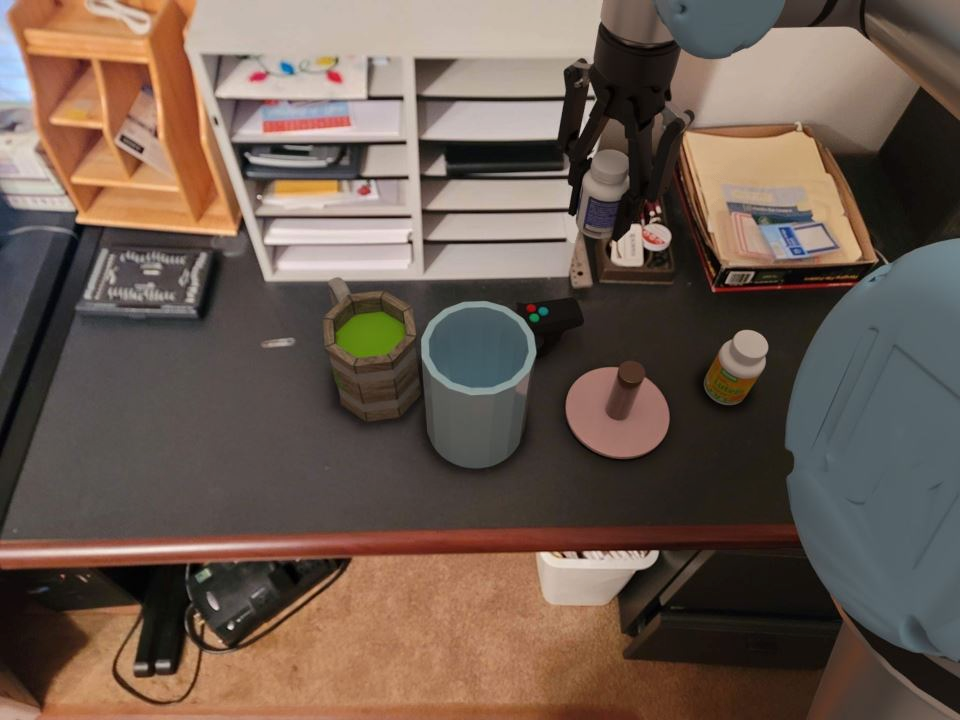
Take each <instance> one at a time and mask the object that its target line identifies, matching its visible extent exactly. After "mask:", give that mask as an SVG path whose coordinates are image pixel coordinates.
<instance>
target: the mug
mask: <svg viewBox="0 0 960 720" xmlns="http://www.w3.org/2000/svg"><path fill="white" fill-rule="evenodd" d="M327 289H328V293H329V297H330V300H331V305H332V308H331V310H330V311H328V312H327V313H326V314H325V315H324V316H323V317H322V323H323V342H324V349H325V351H326V353H327V355H328V357H329V360H330V364H331V369H332V378H333V380H334V382H335V384H336V387H337V390H338V393H339V404H340V405H341V406H342V407H343V408H345V409H346V410H348V411H349V412H351V413H352V414H354V415H355V416H357V417H358V418H360V419H362V420H363V421H365V422H366V423H367V422H374V421H375V422H376V421H381V420H390V419H397V418H401V417H402V416H403V415H404V414H405V412H407V411H408V410H409V409H410V407H411V406H412V405H413V404H414V403H415V402H416V401H417V399H418V398H419V397H420V396H421V395H422V388H421V380H420V374H419V369H420V365H419V359H418V351H417V345H416V343H417V331H416V324H415V318H414V310H413V307H412V306H411V305H409V304H407V303H406V302H404V301H402V300H401V299H399V298H397V297H396V296H394V295H392V294H391V293H389V292H388V291H385V290H376V291H366V292H357V293H352V292H351V291H350V289H349V286H348V285H347V283H346V281H345V280H344V279H343V278H341V277H340V276H336V277H332V278H331V279H329V280H328V283H327Z"/></svg>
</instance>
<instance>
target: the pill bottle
mask: <svg viewBox="0 0 960 720" xmlns="http://www.w3.org/2000/svg"><path fill="white" fill-rule="evenodd" d="M592 158H593V159H592V164H591V169H589V170H588V171H587V172H586V173H585V175H584V177H583V181H582V186H581V192H580V198H579V203H578V208H577V214H576V215H575V224H576V227H577V229H578V230H579V231H580V232H581V233H582V234H583V235H585V236H586V237H589V238H591V239H596V240H605V239H611V237H612V233H613V229H614V225H615V221H616V217H617V213H618V209H619V205H620V201H621V197H622V194H624V193H625V192H626V191H627V190H628V189H629V160H628V155H626V153H623V152H622V151H620V150H616V149H608V148H607V149H601V150H599V151H597V152H596V153H595V154H594V155H593V157H592Z"/></svg>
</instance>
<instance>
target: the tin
mask: <svg viewBox="0 0 960 720" xmlns="http://www.w3.org/2000/svg"><path fill="white" fill-rule="evenodd" d="M420 349H421V350H420V352H421V367H422V380H423V393H424V406H425V420H426V432H427V436H428V439H429V441H430V443H431V445H432V446H433V448H434V450H435V451H436V452H437V454H439V455H440V456H441V457H442V458H443V459H445V460H446V461H448V462H450V463H451V464H453V465H456V466H459V467H461V468H467V469H484V468H485V469H486V468H489V467H493V466H495V465H496V466H497V465H498V464H501V463H502V462H504V461H505V460H507V459H508V458H509V457H511V456H512V455H513V454H514V453H515V451H516V450H517V448H518V447H519V445H520V443H521V440H522V437H523V433H524V431H525V427H526V421H527V414H528V408H529V403H530V395H531V391H532V390H531V389H532V383H533V377H534V371H535V366H536V365H535V364H536V359H537V357H536V345H535V338H534V334H533V332H532V331H531V329H530V328H529V326H528V325H527V323H526V322H525V320H524V319H523V318H522V317H520V316H519V315H517V314H516V313H515V312H513V311H512V310H510V309H509V308H507V307H505V306H502V305H501V304H497V303H494V302H491V301H487V300H480V301H479V300H477V301H462V302H460V303H457V304H454V305H450V306H448V307H445V308H444V309H443V310H441V311H440V312H439V313H438V314H437V315H436V316H434V317H433V318H432V319H431V320H430V321H429V322H428V324H427V326H426V328H425V330H424V332H423V334H422V336H421V338H420Z"/></svg>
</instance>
